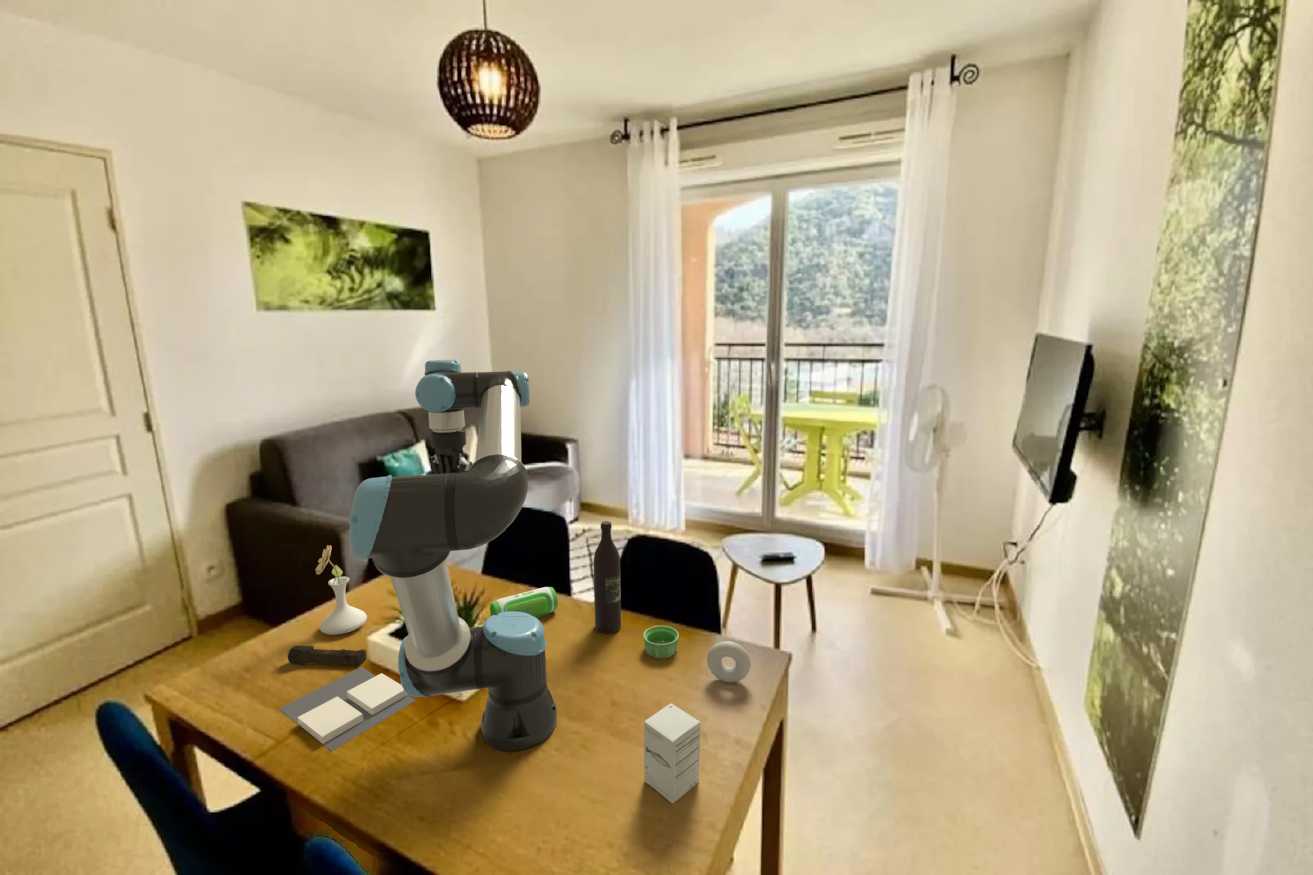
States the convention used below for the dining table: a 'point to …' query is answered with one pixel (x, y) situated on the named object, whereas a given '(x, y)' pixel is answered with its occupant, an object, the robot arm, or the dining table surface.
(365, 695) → the tile far
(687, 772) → the supplement box
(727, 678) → the donut
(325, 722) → the tile near
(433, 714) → the dining table surface
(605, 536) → the wine bottle
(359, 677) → the mat
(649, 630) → the ramekin
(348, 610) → the flower in vase
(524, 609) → the speaker
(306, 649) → the hand tool
